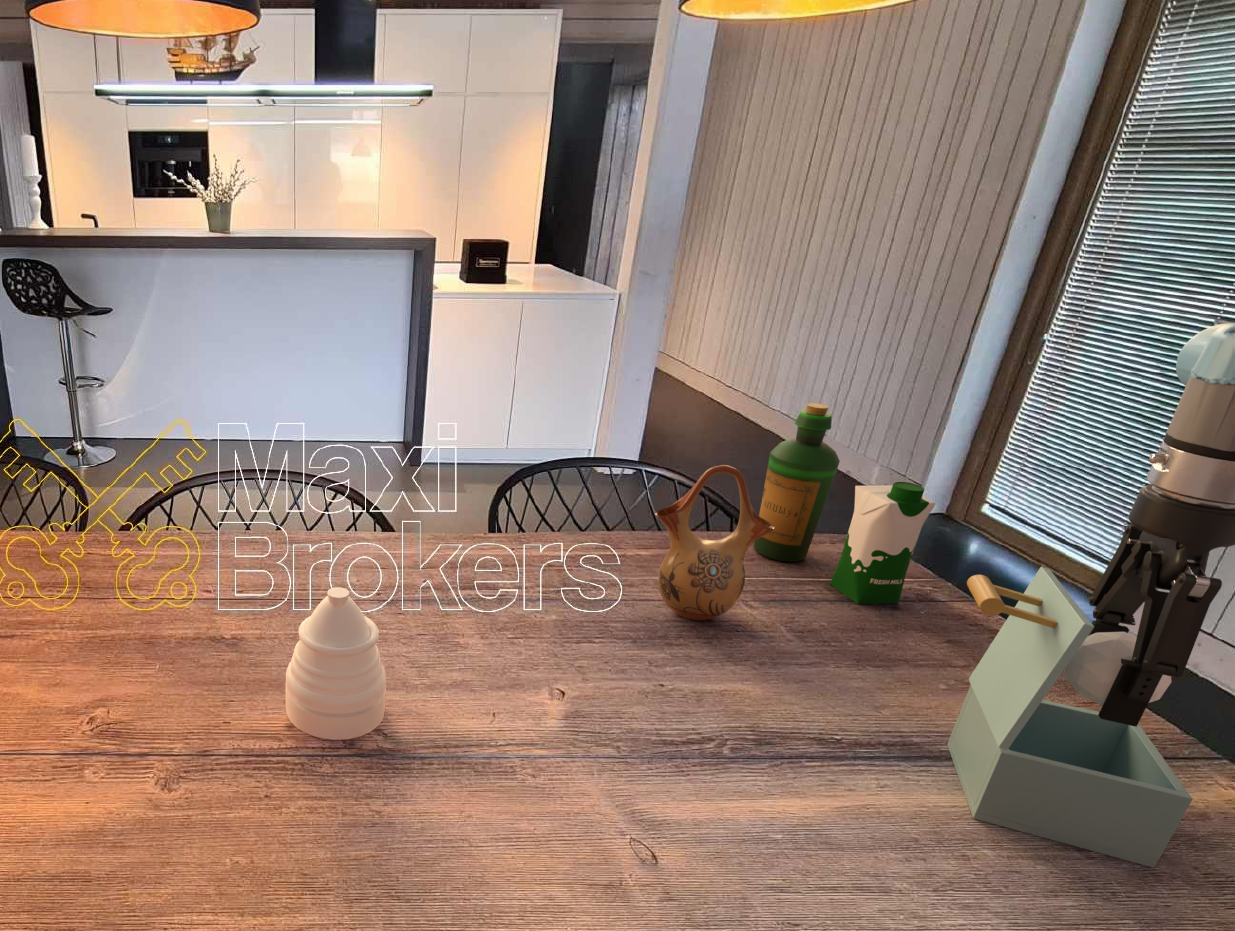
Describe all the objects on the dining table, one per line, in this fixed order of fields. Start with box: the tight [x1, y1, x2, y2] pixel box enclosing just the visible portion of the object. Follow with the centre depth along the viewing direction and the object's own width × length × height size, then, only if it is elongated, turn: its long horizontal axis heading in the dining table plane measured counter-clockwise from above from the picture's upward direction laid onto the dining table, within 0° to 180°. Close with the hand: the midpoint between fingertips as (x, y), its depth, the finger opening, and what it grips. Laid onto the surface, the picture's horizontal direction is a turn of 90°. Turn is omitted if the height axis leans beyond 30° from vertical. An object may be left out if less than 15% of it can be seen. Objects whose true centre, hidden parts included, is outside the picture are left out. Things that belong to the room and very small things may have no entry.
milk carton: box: [829, 481, 937, 605], centre depth 130 cm, size 9×9×20 cm
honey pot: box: [285, 586, 388, 741], centre depth 101 cm, size 13×13×18 cm
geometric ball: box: [1063, 632, 1172, 707], centre depth 82 cm, size 8×8×8 cm
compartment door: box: [966, 566, 1094, 750], centre depth 87 cm, size 16×14×7 cm
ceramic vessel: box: [654, 464, 774, 621], centre depth 122 cm, size 16×9×25 cm, turn 73°
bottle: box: [753, 402, 841, 563], centre depth 143 cm, size 11×11×28 cm
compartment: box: [946, 684, 1193, 869], centre depth 88 cm, size 15×14×9 cm
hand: (1101, 697), depth 84 cm, fingers closed on geometric ball, 8 cm apart
